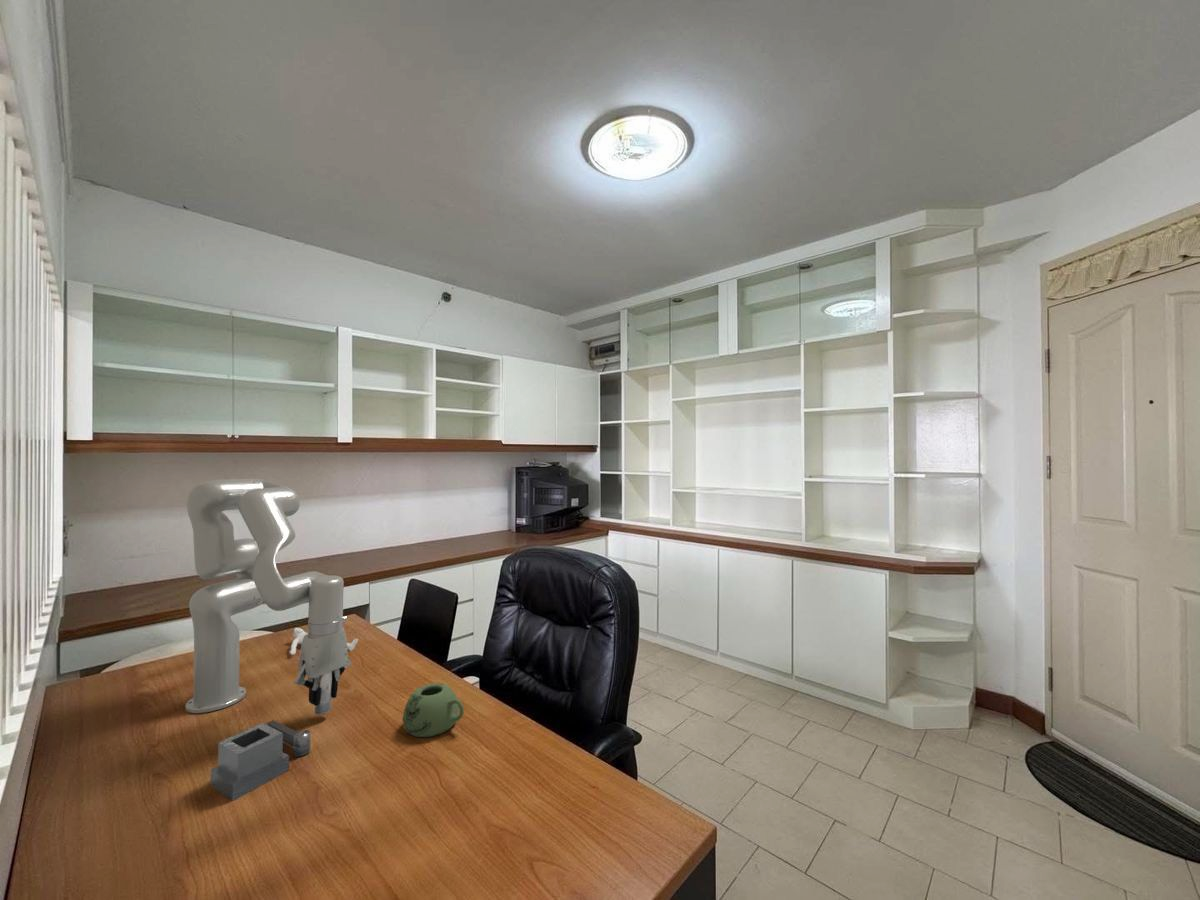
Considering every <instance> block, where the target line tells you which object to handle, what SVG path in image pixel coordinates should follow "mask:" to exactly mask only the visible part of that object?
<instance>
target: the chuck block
mask: <svg viewBox="0 0 1200 900" xmlns="http://www.w3.org/2000/svg"><path fill="white" fill-rule="evenodd" d="M217 745H218V746H217V747H218V748H217V753H218V754H217V766H216V767H214V768H212V769H210V786H211V787H213V788H214V789H215V790H217V791H218V792H220V793H221V794H223V796H225V797H227V798H228V799H229V800H231V801H235V800H237V799H239V798H240V797H242V796H245V795H246V794H248V793H250V792H251V791H253V790H255V789H257V788H260V787H261V786H263V785H264V784H266V783H268V782H270V781H272V780H273V779H275V778H277V777H279V776H281V775H283V774H284V773H287V772H288V771H290V755H289V754H287V753H286V752H285V753H284V751H283V750H284V749H283V748H284V746H283V745H284V742H283V733H282V732H280V731H278V730H276V729H274V728H272V727H270V726H268V725H266V723H264V722H262V723H259V724H257V725H255V726H252V727H250V728H248V729H245V730H243V731H241V732H239V733H237V734H234V735H232V736H230V737H228V738H226V739H224V740H221V741H219V742H218V744H217Z"/></svg>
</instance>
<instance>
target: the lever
mask: <svg viewBox="0 0 1200 900" xmlns="http://www.w3.org/2000/svg"><path fill="white" fill-rule="evenodd" d="M265 724H266V725H268V726H270V727H272V728H274V729H276V730H278V731H280V732H282V733H283V744H286V745H288V746H290V747H292V748H293V756H294V757H297V758H298V757H304V756H305V755H307V754H309V753H310V752H311V730H310V729H305V730H301V731H296V730H294V729H292V728H290V727H288V726H286V725H284V724H283V723H281V722H278V721H276V720H274V719H272V720H269V721H267V722H266V723H265Z"/></svg>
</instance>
